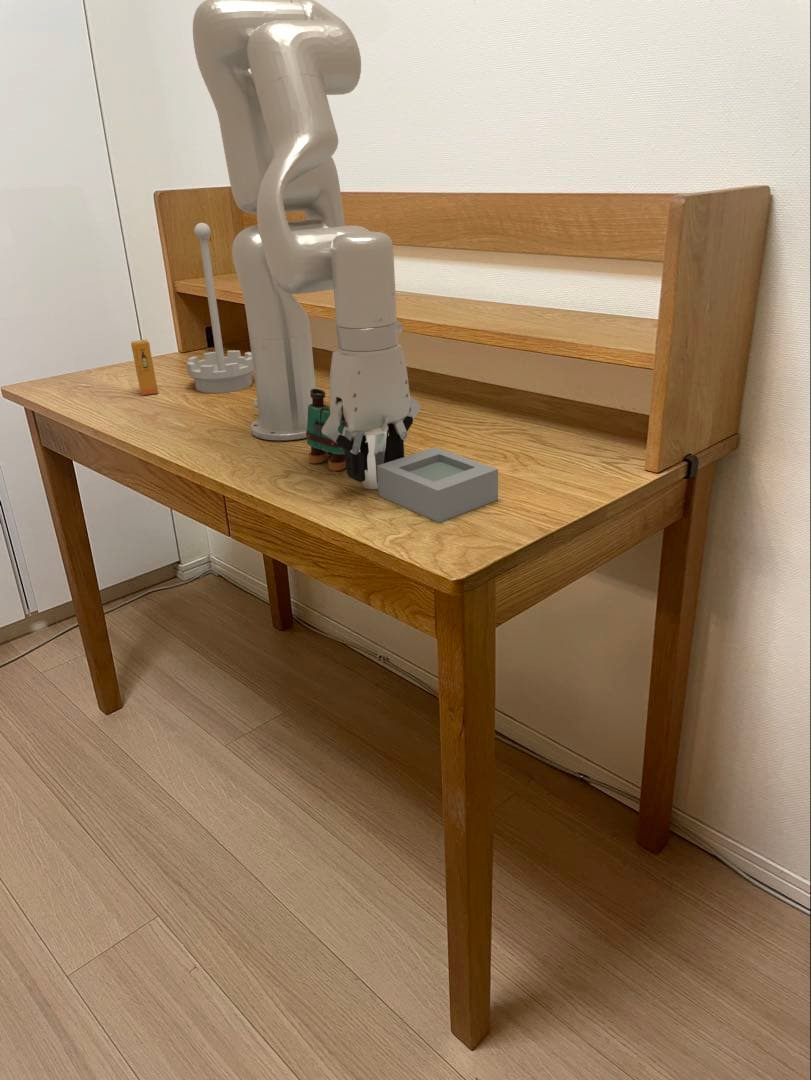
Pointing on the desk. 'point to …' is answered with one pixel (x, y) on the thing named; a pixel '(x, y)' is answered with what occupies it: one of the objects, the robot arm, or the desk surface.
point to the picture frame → (438, 483)
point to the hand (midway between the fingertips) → (376, 471)
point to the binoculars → (317, 439)
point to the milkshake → (374, 453)
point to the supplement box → (144, 367)
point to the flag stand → (217, 342)
